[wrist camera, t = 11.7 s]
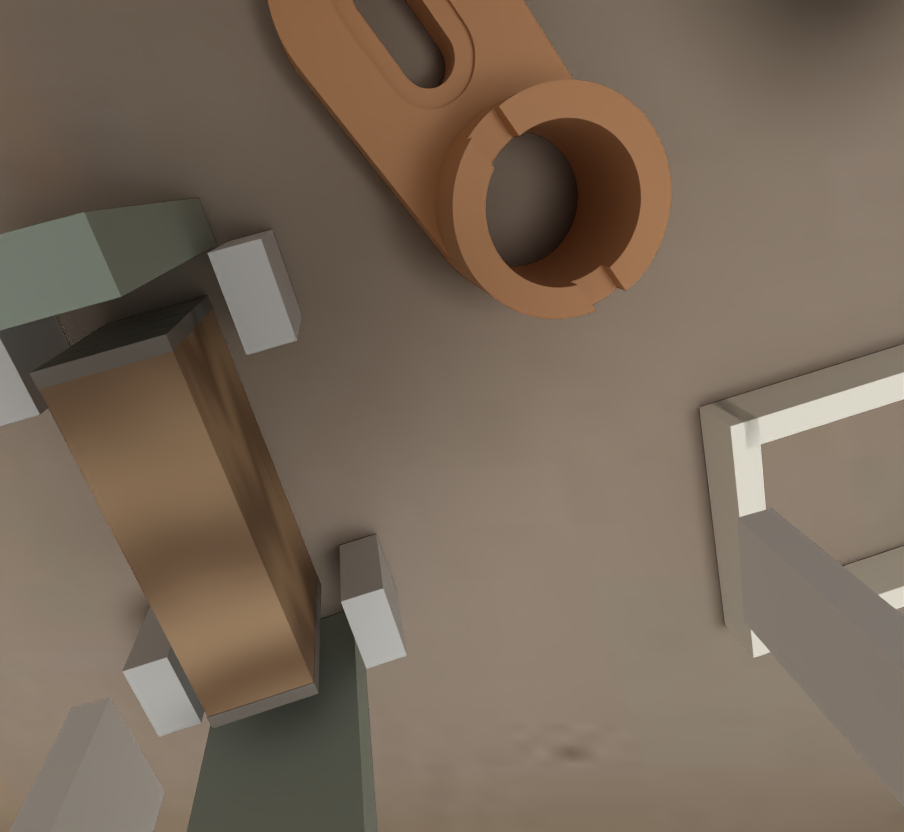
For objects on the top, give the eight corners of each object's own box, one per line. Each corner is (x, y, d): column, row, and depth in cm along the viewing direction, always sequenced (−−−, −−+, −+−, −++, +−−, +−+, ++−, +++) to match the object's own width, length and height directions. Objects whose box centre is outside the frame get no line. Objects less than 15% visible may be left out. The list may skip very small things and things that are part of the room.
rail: (106, 324, 29) (28, 372, 22) (207, 295, 29) (166, 334, 22) (237, 611, 35) (212, 728, 27) (321, 585, 35) (318, 693, 28)
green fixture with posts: (-28, 258, 27) (-353, 327, 14) (256, 182, 28) (191, 182, 15) (195, 691, 36) (119, 979, 23) (406, 623, 37) (448, 863, 24)
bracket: (632, 213, 32) (709, 221, 25) (499, 325, 32) (541, 361, 26) (386, -168, 25) (405, -288, 19) (226, -17, 26) (191, -82, 19)
